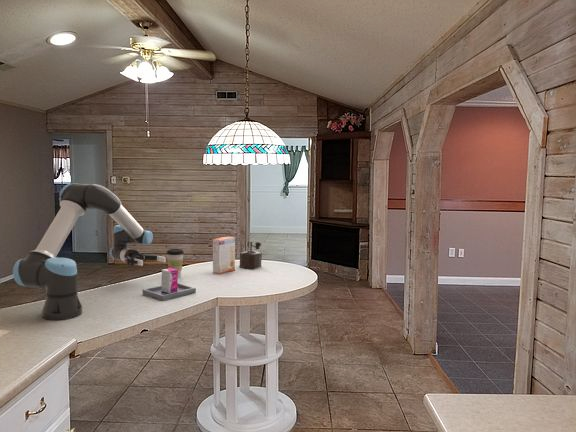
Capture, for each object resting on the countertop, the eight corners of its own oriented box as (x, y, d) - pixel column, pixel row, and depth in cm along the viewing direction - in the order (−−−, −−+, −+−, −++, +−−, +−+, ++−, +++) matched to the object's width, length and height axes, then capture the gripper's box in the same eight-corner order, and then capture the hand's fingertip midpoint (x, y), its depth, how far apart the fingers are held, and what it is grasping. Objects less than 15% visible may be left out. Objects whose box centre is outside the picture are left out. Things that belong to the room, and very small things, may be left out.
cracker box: (228, 269, 285) (228, 235, 283) (235, 270, 281) (235, 237, 279) (211, 272, 274) (212, 238, 271) (219, 274, 270) (219, 239, 268)
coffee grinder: (238, 267, 290) (238, 239, 288) (248, 264, 300) (249, 237, 298) (258, 271, 282) (258, 242, 280) (268, 267, 291) (269, 240, 290)
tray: (162, 301, 214) (162, 295, 214) (142, 294, 224) (142, 289, 224) (195, 292, 230) (195, 287, 230) (175, 286, 240) (175, 282, 240)
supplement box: (169, 294, 223) (169, 271, 222) (160, 292, 226) (160, 269, 225) (178, 291, 228) (178, 269, 227) (169, 289, 231) (169, 267, 230)
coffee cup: (179, 278, 258) (179, 252, 257) (163, 277, 260) (163, 251, 259) (186, 274, 268) (186, 249, 266) (171, 273, 270) (171, 248, 268)
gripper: (150, 260, 255) (174, 265, 242) (108, 265, 236) (132, 272, 223) (150, 246, 255) (174, 251, 241) (108, 251, 235) (132, 257, 222)
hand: (154, 261), depth 232 cm, fingers open, 13 cm apart
